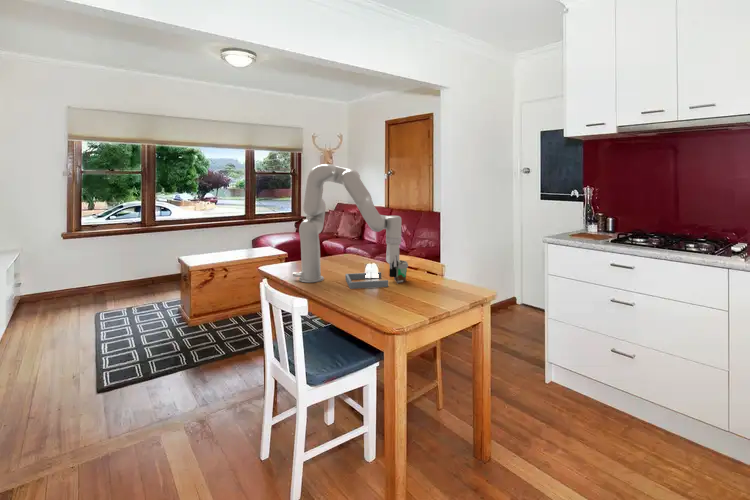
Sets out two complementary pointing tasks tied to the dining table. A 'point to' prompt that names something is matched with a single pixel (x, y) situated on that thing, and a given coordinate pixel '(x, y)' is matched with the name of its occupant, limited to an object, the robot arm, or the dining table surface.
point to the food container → (401, 272)
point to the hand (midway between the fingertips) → (392, 276)
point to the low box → (364, 283)
